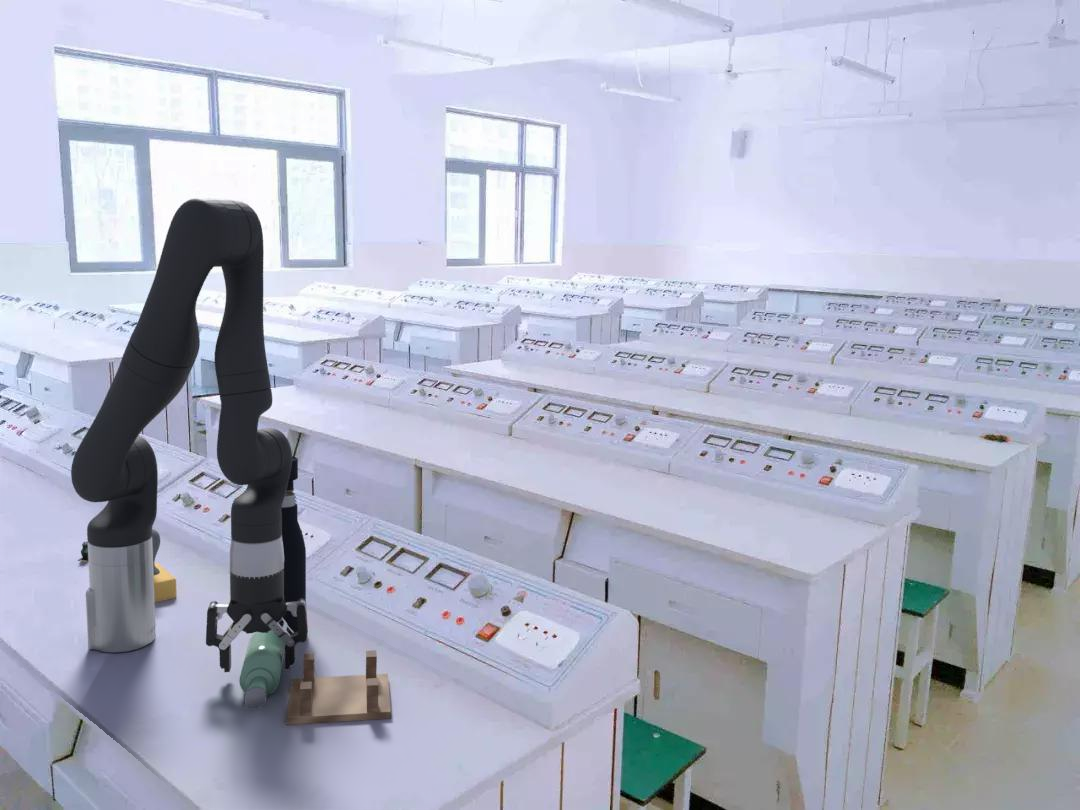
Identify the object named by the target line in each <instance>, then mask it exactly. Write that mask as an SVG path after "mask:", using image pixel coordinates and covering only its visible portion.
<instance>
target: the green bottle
mask: <svg viewBox="0 0 1080 810" xmlns="http://www.w3.org/2000/svg"><path fill="white" fill-rule="evenodd" d="M284 657H285V643H284V641H283V640H282V639H281V638H280V637H278V636H277V635H276V634H275V633H274V632H273V631H272V630H270V631H268V633H261V632H254V633H252V635H251V637H250V638H249V641H248V645H247V648H246V652H245V656H244V660H243V663H242V667H241V672H240V675H239V686H240V688H241V690H242V692H243V693H245V696H244V702H245V705H246V706H247V707H249V708H251V709H259V708H262V707H263V706H265V703H266V701H267V697H268V696H271V694H273V693H274V692H275V691H276V690H277V688H278V687H279V685H280V681H281V680H280V679H281V674H282V668H283V662H284Z"/></svg>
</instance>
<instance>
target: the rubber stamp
mask: <svg viewBox="0 0 1080 810" xmlns="http://www.w3.org/2000/svg"><path fill="white" fill-rule="evenodd" d="M160 545H161V536H160V533H159V531H157V530H156V529H154V528H152V546H153V574H154V602H155V603H157V602H160V601H161V602H162V601H166V600H170V599H175V598H176V597H177V596H178V595H177V594H178V593H177V578H175V577H174V576H173V575H172V574H171V573H170V572H169V571H167V570H166V568H164V567H163V566H162V565H161V564H160V563H158V562H156V557H157V554H158V551H159V549H160V547H161V546H160Z"/></svg>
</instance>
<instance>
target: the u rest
mask: <svg viewBox="0 0 1080 810" xmlns="http://www.w3.org/2000/svg"><path fill="white" fill-rule="evenodd" d="M377 653H378V652H377V649H376V650H366V651H365V674H358V675H357V674H355V675H353V674H352V675H338V676H337V675H335V676H319V677H318V676H317V677H316V676H315V653H314V652H312V653H311V652H310V653H303V657H302V659H303V660H302V678H301V677H299V678H291V683H290V688H289V696H288V705H287V711H286V718H285V719H286V721H285V722H286V725H290V726H291V725H303V724H304V725H305V724H321V723H334V722H336V723H337V722H350V721H351V722H352V721H367V720H383V719H384V720H385V719H391V718H392V717H391V716H392V715H391V714H392V713H391V711H392V710H391V699H390V687H389V685H390V684H389V673H377V670H378V669H377V667H378V666H377V665H378V664H377V662H378V661H377V660H378V659H377V658H378V655H377Z"/></svg>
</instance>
